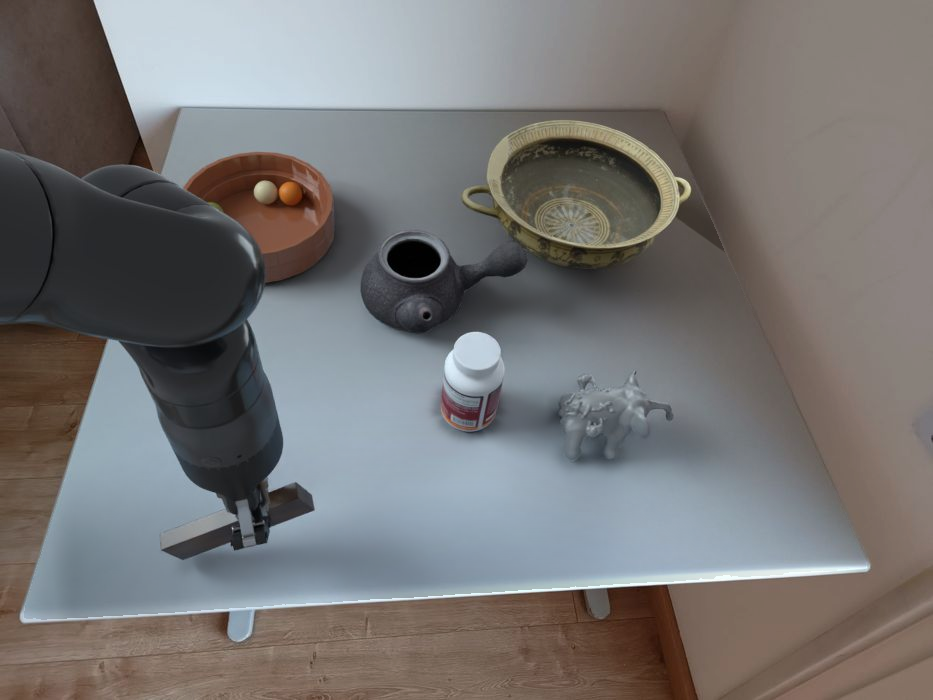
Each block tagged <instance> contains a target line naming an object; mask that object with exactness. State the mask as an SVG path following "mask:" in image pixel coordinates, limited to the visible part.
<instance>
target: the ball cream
mask: <svg viewBox="0 0 933 700" xmlns="http://www.w3.org/2000/svg"><path fill="white" fill-rule="evenodd" d="M254 195H255V198H256V199H257V200H258V201H259V202H260V203H262V204H271V203H273V202H274V201H275V200H276V198H277V196H278V190H277V188H276V186H275V185H274V184H273V183H272V182H270V181H261V182H259V183H258V184H257V185H256V186H255V188H254Z"/></svg>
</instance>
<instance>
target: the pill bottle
mask: <svg viewBox="0 0 933 700" xmlns="http://www.w3.org/2000/svg"><path fill="white" fill-rule="evenodd" d="M505 370H506V368H505V363H504V360H503V357H502V349H501V345H500V344H499V343H498V341H497V340H496V339H495V338H494V337H493V336H491V335H489V334H487V333H485V332H481V331H470V332H466V333H464V334H463V335H461V336H460V337H458V338H457V340H456V341H455V343H454V345H453V349H452V350H451V351H450V352H449V353H448V354H447V357H446V358H445V362H444V365H443V376H442V384H441V385H442V386H441V397H440V411H441V414H442V417H443V419H444V420H445V421H446V423H448V424H449V426H451V427H452V428H455V429H456V430H459V431H462V432H466V433H468V432H469V433H470V432H471V433H472V432H477V431H478V432H479V431H481V430H483V429H485V428H487V427H488V426H489V425H490V424H491V423H492V422H493V421H494V420H495V417H496V414H497V410H498V406H499V400H500V396H501V392H502V387H503V382H504V378H505V372H506V371H505Z"/></svg>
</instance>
